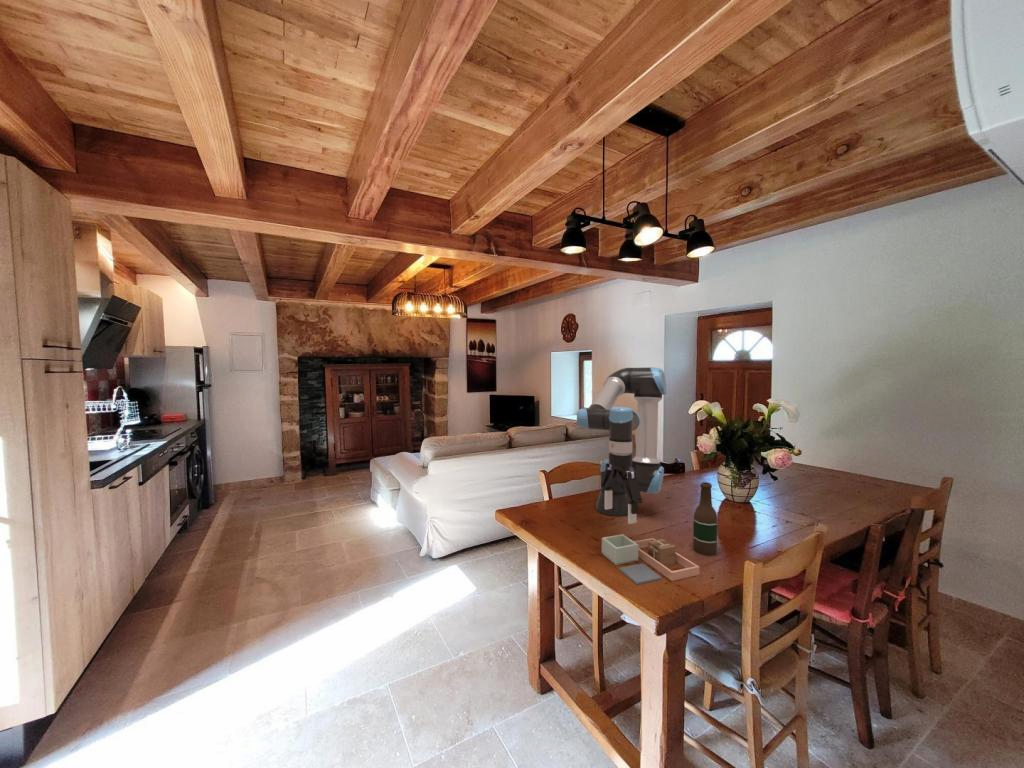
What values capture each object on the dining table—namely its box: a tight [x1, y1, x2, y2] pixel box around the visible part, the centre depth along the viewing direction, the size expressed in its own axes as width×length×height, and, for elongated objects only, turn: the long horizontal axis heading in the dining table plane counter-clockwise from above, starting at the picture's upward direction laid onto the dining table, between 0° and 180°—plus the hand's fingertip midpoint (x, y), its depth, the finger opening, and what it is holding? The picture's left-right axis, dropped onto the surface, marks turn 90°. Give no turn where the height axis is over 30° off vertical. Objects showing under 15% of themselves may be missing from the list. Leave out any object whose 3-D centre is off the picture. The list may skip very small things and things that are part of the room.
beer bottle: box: [692, 481, 718, 557], centre depth 134 cm, size 8×8×24 cm
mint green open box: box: [601, 533, 639, 566], centre depth 130 cm, size 9×9×6 cm
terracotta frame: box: [633, 537, 701, 582], centre depth 127 cm, size 22×11×2 cm, turn 19°
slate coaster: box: [618, 562, 663, 586], centre depth 119 cm, size 9×9×1 cm
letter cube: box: [647, 538, 677, 567], centre depth 127 cm, size 6×6×6 cm
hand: (619, 515), depth 130 cm, fingers open, 13 cm apart
